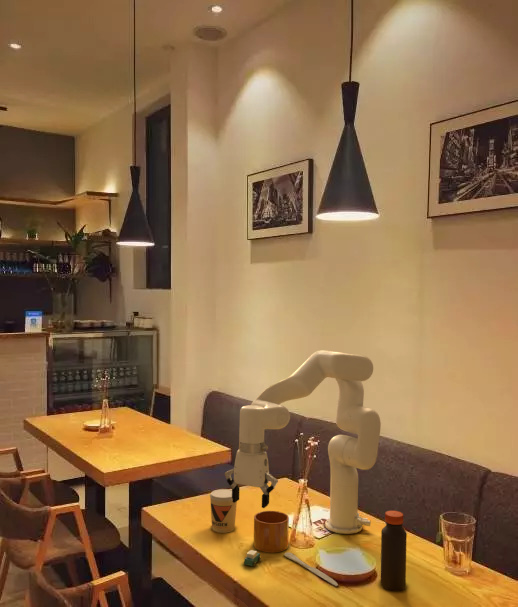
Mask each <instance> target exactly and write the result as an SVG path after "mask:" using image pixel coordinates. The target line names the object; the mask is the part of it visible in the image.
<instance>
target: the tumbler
mask: <svg viewBox="0 0 518 607" xmlns="http://www.w3.org/2000/svg"><path fill="white" fill-rule="evenodd" d="M289 525H290V516H289V515H288V514H287V513H285V512H282V511H277V510H263V511H259V512H257V513H255V514H254V516H253V547H254V548H255V549H256V550H258V551H260V552H263V553H279V552H283V551H285V550H287V549H288V548H289V538H290V537H289V536H290V535H289V533H290V532H289V531H290V530H289V528H290V526H289Z"/></svg>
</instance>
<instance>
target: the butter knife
mask: <svg viewBox="0 0 518 607" xmlns="http://www.w3.org/2000/svg"><path fill="white" fill-rule="evenodd" d="M283 556H284V557H286V558H287V559H289V560H291V561H292V562H295V563H296V564H298V565H301V566H302V567H303V568H305V569H307V570H309V571H310V572H311V573H313V574H315V575H317V576H318V577H320V578H322V579H323V580H325V581H326V582H328V583H330V584H331V585H333V586H335V587H337V586H339V584H338V582H337V581H336V580H334V579H333V578H332V577H330V576H329V575H328V574H326V573H324V572H322V571H321V570H319V569H318V568H316V567H313V566H310V565H308V564H307V563H305V562H304V561H302V560H301V559H300V558H299V557H297V556H296V555H295V554H294V553H292V552H289V551H288V552H285V553H284V554H283Z"/></svg>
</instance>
